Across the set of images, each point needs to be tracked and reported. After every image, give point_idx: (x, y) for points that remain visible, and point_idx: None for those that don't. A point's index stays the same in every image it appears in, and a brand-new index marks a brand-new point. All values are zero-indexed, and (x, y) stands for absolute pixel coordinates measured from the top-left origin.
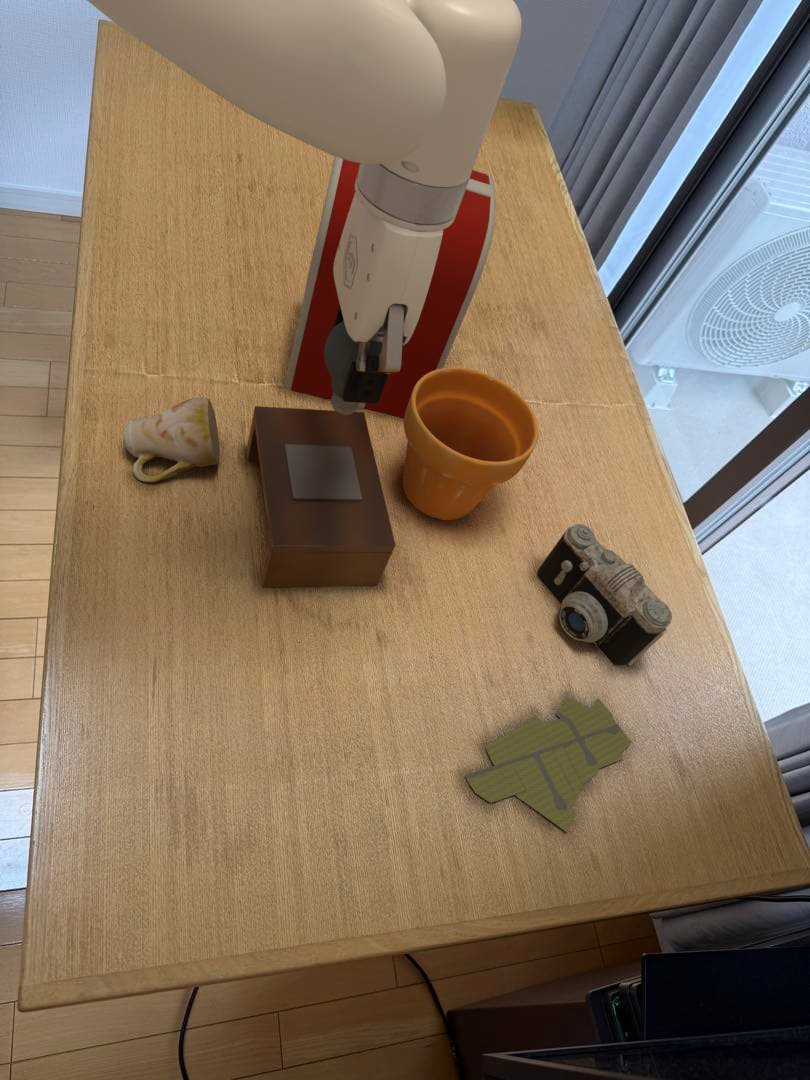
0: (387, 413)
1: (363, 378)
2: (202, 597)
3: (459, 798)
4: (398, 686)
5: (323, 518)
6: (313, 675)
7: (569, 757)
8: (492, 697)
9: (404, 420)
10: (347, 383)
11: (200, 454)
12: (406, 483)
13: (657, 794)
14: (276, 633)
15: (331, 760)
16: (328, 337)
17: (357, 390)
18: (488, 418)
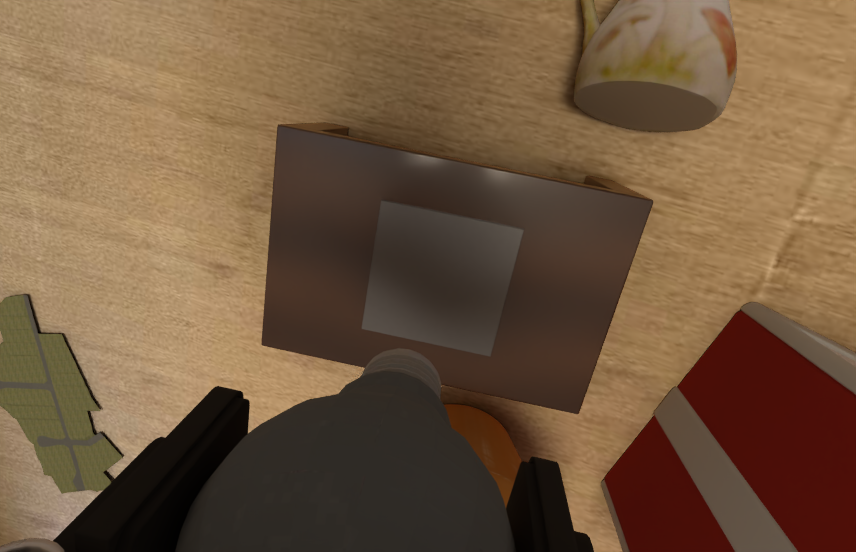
0: (631, 446)
1: (66, 533)
2: (319, 14)
3: (4, 276)
4: (149, 264)
5: (331, 243)
6: (171, 153)
7: (48, 420)
8: (128, 372)
9: (502, 481)
10: (163, 441)
11: (583, 60)
12: (459, 414)
13: (11, 485)
14: (242, 120)
15: (50, 135)
16: (414, 484)
17: (140, 463)
18: None
